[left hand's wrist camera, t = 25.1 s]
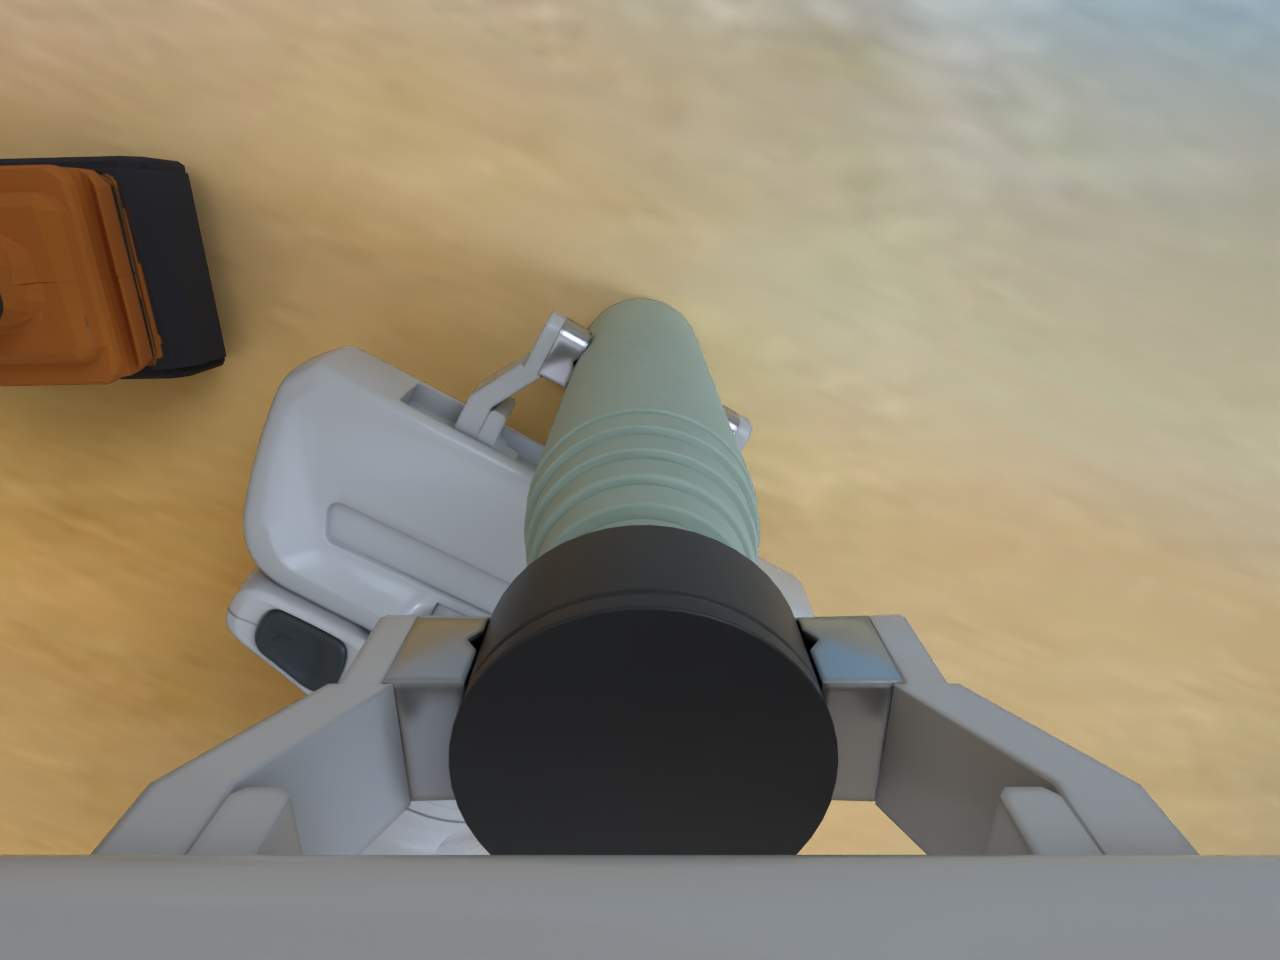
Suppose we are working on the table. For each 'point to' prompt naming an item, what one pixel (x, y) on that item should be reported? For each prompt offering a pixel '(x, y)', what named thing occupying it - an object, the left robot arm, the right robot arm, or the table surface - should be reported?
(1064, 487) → the table surface
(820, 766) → the cap
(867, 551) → the table surface
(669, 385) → the bottle
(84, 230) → the power drill
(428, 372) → the table surface
